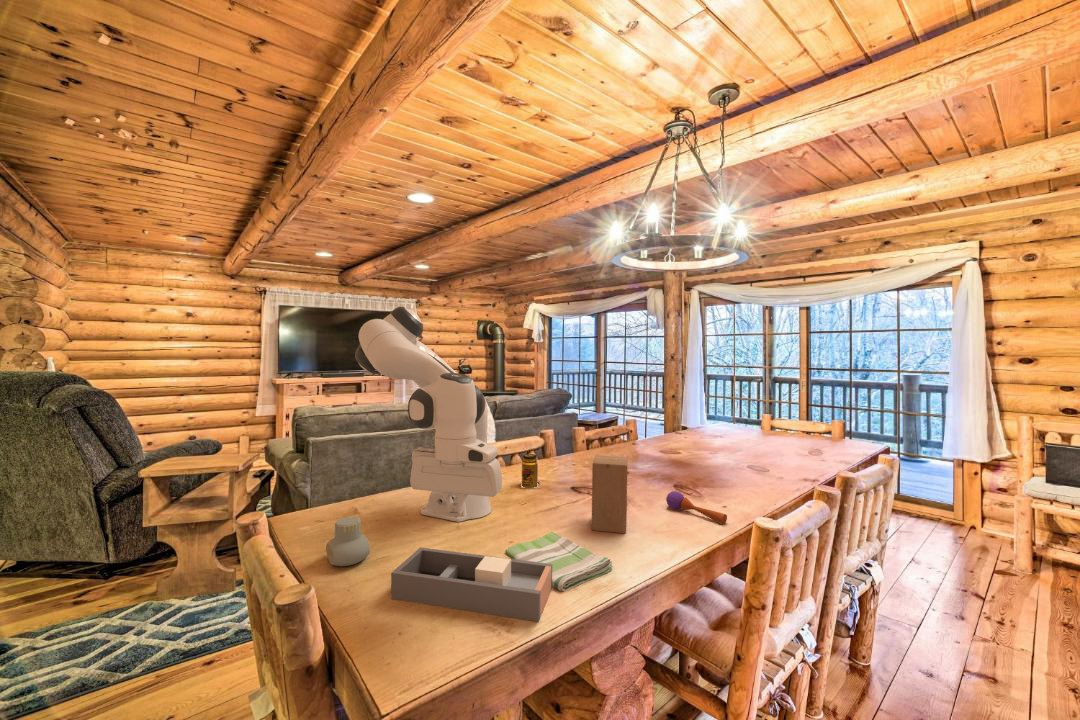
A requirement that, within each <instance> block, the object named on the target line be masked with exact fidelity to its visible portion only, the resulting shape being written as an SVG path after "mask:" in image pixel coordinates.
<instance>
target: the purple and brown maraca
mask: <svg viewBox="0 0 1080 720" xmlns="http://www.w3.org/2000/svg"><path fill="white" fill-rule="evenodd" d="M666 495H667V496H666V498H665V499H666V504H667V506H668V507H669V508H670V509H672V510H676V511H678V510H681V511H690V510H694V511H696V512H698V513H700V514H701V515H703V516H706V517H707V518H709V519H711V520H713V521H715V522H716V523H718V524H720V525H725V524H726V523H727V520H728V514H725V513H722V512H720V511H719V512H718V511H715V510H710V509H707V508H703V507H699V506H696V505H694V504H693V503H692V502H691V501H690V500H689V499H688V497H685V496H684V494H683V493H681V492H680V491H677V490H673V491H670V492H669V493H668V494H666Z"/></svg>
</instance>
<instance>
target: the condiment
mask: <svg viewBox="0 0 1080 720" xmlns="http://www.w3.org/2000/svg"><path fill="white" fill-rule="evenodd" d="M537 457H538V456H537V454H535V453H525V454H523V456H522V463H521V482H522V486H523V487H525V488H524V489H535V488H534V487H537V483H538V484H539V486H540V483H541V482H540V481H538V479H539V478H538V473H539V471H538V470H539V469H538V468H539V466H538V463H539V462H538V458H537Z"/></svg>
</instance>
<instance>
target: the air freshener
mask: <svg viewBox="0 0 1080 720" xmlns="http://www.w3.org/2000/svg"><path fill="white" fill-rule="evenodd" d="M361 527H362V522H361V519H360V518H359V517H357V516H348V517H343V518H339V519H338V520H336V521H335V523H334V537H333V538H331V539H330V540H329V541H328V542H327V543H326V547H325V553H326V556H327V557H326V558H327V559H328V562H329V564H330V565H334V566H336V567H349V566H353V565H355V564H358V563H359V562H361V561H363V560H364V559H365V558H367V557H368V555H369V554H370V551H371V550H370V548H371V547H370V543H369V539H368V537H366V535H365V534H362V532H361V531H362V529H361Z"/></svg>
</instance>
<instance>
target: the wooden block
mask: <svg viewBox="0 0 1080 720" xmlns="http://www.w3.org/2000/svg"><path fill="white" fill-rule="evenodd" d="M628 459H629V458H628V457H627V456H614V455H600V454H599V455H598V454H597V455H595V456H594V458H593V461H592V471H591V473H592V475H591V477H592V478H591V479H592V480H591V528H590V529H591V530H592V531H597V532H607V533H619V534H626V533H627V514H628V513H627V512H628V511H627V510H628V508H627V507H628V461H629V460H628Z"/></svg>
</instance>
